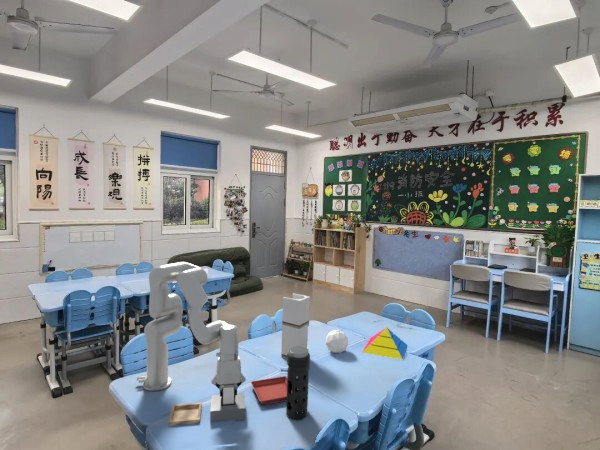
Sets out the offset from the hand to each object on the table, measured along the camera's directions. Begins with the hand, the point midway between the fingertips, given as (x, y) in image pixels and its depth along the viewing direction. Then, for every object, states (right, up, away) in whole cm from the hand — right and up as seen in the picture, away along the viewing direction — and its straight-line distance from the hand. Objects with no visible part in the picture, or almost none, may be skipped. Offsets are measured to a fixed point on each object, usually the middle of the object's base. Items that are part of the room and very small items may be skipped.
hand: (228, 396), depth 151 cm
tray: (-17, -7, -3) cm, 19 cm away
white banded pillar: (+27, -4, +56) cm, 62 cm away
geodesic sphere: (+52, -4, +64) cm, 83 cm away
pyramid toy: (+83, -5, +71) cm, 109 cm away
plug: (0, -2, 0) cm, 2 cm away
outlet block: (0, -7, +1) cm, 7 cm away
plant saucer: (+18, -7, +17) cm, 25 cm away
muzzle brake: (+29, -8, +2) cm, 30 cm away
